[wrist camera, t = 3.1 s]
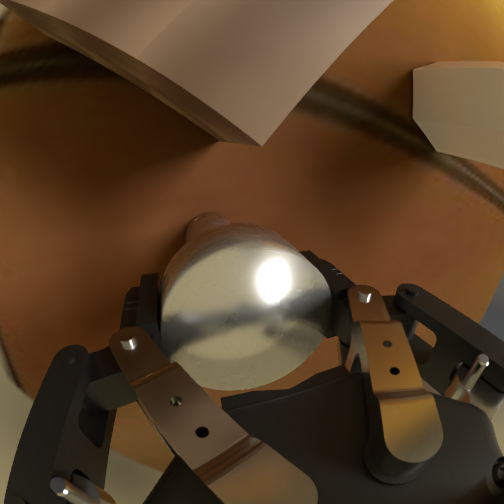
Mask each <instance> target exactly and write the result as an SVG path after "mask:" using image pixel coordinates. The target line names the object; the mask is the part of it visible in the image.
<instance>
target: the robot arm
mask: <svg viewBox="0 0 504 504" xmlns="http://www.w3.org/2000/svg"><path fill="white" fill-rule="evenodd" d="M300 253H301V254H302V255H303V256H304V257H305V258H306V259H307V260H308V261H309V262H310V263H311V264H312V265H313V266H315V267H316V268H317V269H318V270H319V272H320V273H321V274H322V275H323V277H324V278H325V280H326V282H327V284H328V286H329V289H330V292H331V298H332V305H331V312H330V318H329V324H328V329H327V331H326V333H325V337H326V338H331V337H334V336H338V337H339V339H338V343H337V349H338V360H339V366H338V367H335V368H332V369H329V370H326V371H323V372H320V373H317V374H315V375H314V376H312V377H310V378H308V379H307V380H305V381H303V382H302V383H300V384H298V385H296V386H294V387H293V388H290V389H284V390H266V391H251V392H247V393H242V394H238V395H233V396H228V397H223V398H221V403H222V408H220V407H219V406H218V405H217V404H216V403H215V402H214V401H213V400H212V399H211V398H210V397H209V395H208V394H207V393H206V392H205V391H204V390H203V389H202V388H201V387H200V386H199V385H198V384H197V383H196V382H195V381H194V380H193V379H192V377H191V376H190V375H189V374H188V373H187V372H186V371H185V370H184V369H183V367H182V366H181V365H180V364H179V363H177V362H173V363H170V361H169V360H168V359H167V356H166V353H165V350H164V347H163V343H162V340H161V332H160V286H161V280H160V276H159V273H151V274H144V275H142V277H141V283H140V287H133V288H131V289H130V290H129V292H128V293H127V294H126V297H125V302H124V303H125V304H124V307H123V312H122V318H121V324H120V330H118V331H117V332H115V333H114V334H113V335H112V336H111V338H110V340H109V346H108V347H106V348H104V349H102V350H99V351H96V352H93V353H90V354H88V352H87V350H86V349H85V348H84V347H82V346H80V345H70V346H67V347H65V348H63V349H61V350H60V351H59V352H58V353H57V354H56V355H55V357H54V359H53V361H52V363H51V365H50V367H49V369H48V371H47V373H46V375H45V378H44V380H43V382H42V384H41V387H40V389H39V391H38V393H37V396H36V398H35V401H34V403H33V406H32V408H31V411H30V413H29V416H28V418H27V421H26V424H25V427H24V429H23V432H22V435H21V438H20V441H19V444H18V447H17V451H16V454H15V458H14V461H13V465H12V468H11V472H10V476H9V480H8V485H7V490H6V494H5V499H4V504H116V503H115V501H114V499H113V498H112V497H111V496H110V495H109V494H108V493H107V492H105V491H104V485H105V476H106V469H107V462H108V455H109V449H110V443H111V437H112V431H113V426H114V421H115V416H116V411H117V408H119V407H121V406H124V405H127V404H130V403H132V402H135V401H137V403H138V405H139V406H140V408H141V409H142V411H143V413H144V414H145V416H146V417H147V419H148V420H149V422H150V423H151V425H152V426H153V428H154V429H155V430H156V432H157V433H158V435H159V436H160V438H161V439H162V441H163V442H164V444H165V445H166V446H167V448H168V449H169V450H170V452H171V453H172V454H173V456H174V458H173V459H172V461H171V462H170V464H169V466H168V467H167V469H166V470H165V472H164V473H163V475H162V476H161V478H160V479H159V481H158V482H157V483H156V485H155V487H154V488H153V490H152V491H151V492H150V494H149V495H148V497H147V498H146V500H145V501H144V503H143V504H504V456H503V454H502V452H501V450H500V448H499V445H498V442H497V439H496V436H495V432H494V428H493V425H492V422H491V419H492V417H493V416H494V414H495V413H496V411H497V409H498V408H499V407H500V406H501V404H502V403H503V402H504V342H503V341H502V340H501V339H499V338H497V337H496V336H495V335H493V334H492V333H491V332H489V331H488V330H486V329H485V328H483V327H482V326H480V325H479V324H477V323H476V322H474V321H473V320H471V319H470V318H468V317H467V316H465V315H464V314H462V313H461V312H459V311H458V310H456V309H454V308H453V307H451V306H450V305H448V304H447V303H445V302H443V301H442V300H440V299H439V298H437V297H436V296H434V295H432V294H431V293H429V292H427V291H426V290H424V289H423V288H421V287H419V286H417V285H414V284H401V285H399V286H398V288H397V291H396V295H391V296H381V294H380V292H379V291H378V290H377V289H375V288H373V287H370V286H367V285H355V284H354V283H353V282H352V281H351V280H350V279H348V278H347V277H346V276H345V275H344V274H342V272H340V271H339V270H338V269H337V268H336V267H335V266H333V265H332V264H331V263H330V262H327V261H325V260H323V259H319V258H318V257H317V256H316V255H314V254H313V253H312V252H311V251H302V252H300ZM418 322H420V323H422V324H423V325H425V326H426V327H427V328H429V329H430V330H431V331H433V332H434V333H435V335H436V338H437V341H436V344H435V346H434V348H433V347H432V346H430V345H429V344H428V343H426V342H425V341H424V340H422V339H421V338H420V337H418V336H417V335H416V334H414V333H415V330H416V327H417V325H418Z"/></svg>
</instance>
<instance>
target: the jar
mask: <svg viewBox="0 0 504 504" xmlns="http://www.w3.org/2000/svg"><path fill="white" fill-rule="evenodd" d="M412 118H413V120H414V121H415V122H416V124H417V125H418V126H419V128H420V129H421V130H422V132H423V133H424V134H425V136H426V137H427V138H428V140H429V141H430V143H431V144H432V145H433V147H434V148H435V150H436V151H437V152H441V153H446V154H450V155H454V156H458V157H462V158H466V159H470V160H473V161H477V162H481V163H484V164H487V165H491V166H494V167H497V168H500V169H503V170H504V62H494V61H449V62H437V63H433V64H429V65H426V66H422V67H419V68H415V69H413V114H412Z"/></svg>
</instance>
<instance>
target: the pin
mask: <svg viewBox="0 0 504 504" xmlns="http://www.w3.org/2000/svg"><path fill="white" fill-rule="evenodd" d="M186 242H187V243H186V244H184V245H183V246H182V247H181V248H180V249H179V250H178V251H177V252H176V254H175V255H174V256H173V258H172V259H171V260H170V262H169V264H168V266H167V267H166V269H165V272H164V275H163V277H162V282H161V286H160V332H161V340H162V343H163V347H164V350H165V353H166V356H167V359H168V360H169V361H170V363H173V362H177V363H179V364H180V365H181V366H182V367H183V369H184V370H185V371H186V372H187V373H188V374H189V375H190V376H191V377H192V379H193V380H194V381H195V382H196V383H197V384H198V385H200V386H203V387H207V388H211V389H216V390H231V391H233V390H244V389H250V388H255V387H259V386H262V385H265V384H268V383H270V382H273V381H275V380H277V379H279V378H281V377H283V376H285V375H287V374H288V373H290V372H291V371H293V370H294V369H296V368H297V367H298V366H299V365H301V364H302V363H303V362H304V361H305V360H306V359H307V358H308V357H309V356H310V355H311V354H312V353H313V352H314V351H315V349H316V348H317V347H318V345H319V344H320V342H321V341H322V339H323V337H324V335H325V333H326V331H327V329H328V324H329V318H330V312H331V305H332V298H331V292H330V289H329V286H328V284H327V282H326V280H325V278H324V277H323V275H322V274H321V273H320V272H319V270H318V269H317V268H316V267H315V266H313V265H312V264H311V263H310V262H309V261H308V260H307V259H306V258H305V257H304V256H303V255H302V254H301V253H300V252H299V251H298V250H296V249H295V248H294V247H293V246H292V245H291V244H290V243H289V242H288V241H287V240H286V239H284V238H283V237H282V236H281V235H279V234H278V233H276V232H274V231H272V230H270V229H268V228H265V227H262V226H258V225H254V224H246V223H236V224H231V223H230V222H229V221H228V220H227V218H225V217H224V216H222V215H221V214H218V213H213V212H208V213H203V214H201V215H199V216H197V217H195V218H194V219H193V220H192V221H191V222H190V224H189V225H188V228H187V231H186Z"/></svg>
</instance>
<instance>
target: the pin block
mask: <svg viewBox="0 0 504 504" xmlns="http://www.w3.org/2000/svg"><path fill="white" fill-rule="evenodd" d="M392 1H393V0H0V3H1V4H2V5H4V6H5V7H7V8H8V9H10V10H11V11H13V12H14V13H16V14H17V15H18V16H20V17H21V18H23V19H24V20H25V21H27V22H28V23H30V24H31V25H32V26H34V27H35V28H37V29H38V30H39V31H41V32H42V33H43V34H45V35H46V36H48V37H50V38H52V39H54V40H56V41H58V42H60V43H62V44H64V45H66V46H68V47H70V48H72V49H73V50H75V51H77V52H79V53H81V54H83V55H85V56H87V57H88V58H90V59H92V60H94V61H96V62H97V63H99V64H101V65H103V66H105V67H106V68H108V69H110V70H111V71H113V72H115V73H117V74H118V75H120V76H122V77H123V78H125V79H127V80H128V81H130V82H132V83H133V84H135V85H136V86H138V87H140V88H141V89H143V90H144V91H146V92H148V93H149V94H151V95H152V96H154V97H155V98H157V99H159V100H160V101H162V102H163V103H165V104H166V105H168V106H169V107H171V108H172V109H174V110H175V111H177V112H178V113H180V114H181V115H183V116H184V117H186V118H187V119H189V120H190V121H191V122H193V123H194V124H196V125H197V126H199V127H200V128H201V129H203V130H204V131H206V132H207V133H209V134H210V135H211V136H213V137H214V138H216V139H217V140H218V141H222V142H231V143H240V144H248V145H256V146H263V145H264V144H265V142H266V141H267V140H268V139H269V137H270V136H271V135H272V134H273V132H274V131H275V130H276V129H277V127H278V126H279V125H280V124H281V122H282V121H283V120H284V119H285V118H286V116H287V115H288V114H289V113H290V111H291V110H292V109H293V108H294V107H295V105H296V104H297V103H298V102H299V101H300V100H301V98H302V97H303V96H304V95H305V94H306V92H307V91H308V90H309V89H310V88H311V87H312V86H313V84H314V83H315V82H316V81H317V80H318V79H319V78H320V76H321V75H322V74H323V73H324V72H325V71H326V70H327V69H328V67H329V66H330V65H331V64H332V63H333V62H334V61H335V60H336V59H337V57H338V56H339V55H340V54H341V53H342V52H343V51H344V50H345V49H346V48H347V47H348V46H349V44H350V43H351V42H352V41H353V40H354V39H355V38H356V37H357V36H358V35H359V34H360V33H361V32H362V31H363V30H364V29H365V28H366V27H367V26H368V25H369V24H370V23H371V22H372V21H373V20H374V19H375V18H376V17H377V16H378V15H379V14H380V13H381V12H382V11H383V10H384V9H385V8H386V7H387V6H388V5H389V4H390V3H391V2H392Z"/></svg>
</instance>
